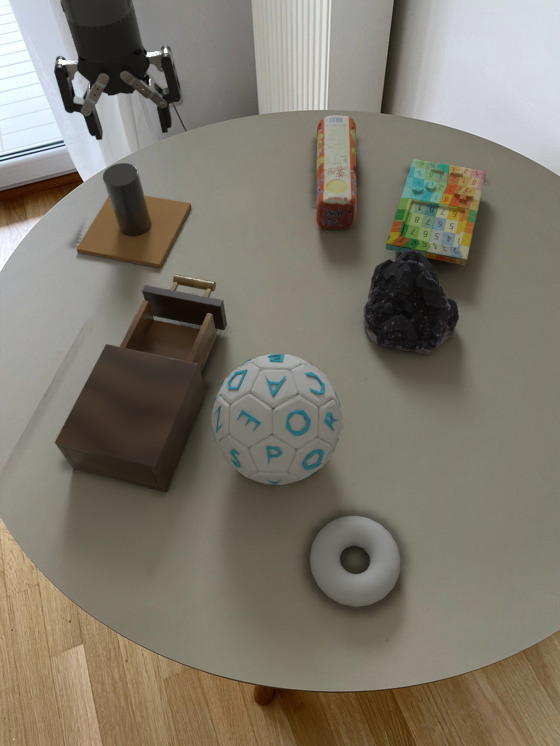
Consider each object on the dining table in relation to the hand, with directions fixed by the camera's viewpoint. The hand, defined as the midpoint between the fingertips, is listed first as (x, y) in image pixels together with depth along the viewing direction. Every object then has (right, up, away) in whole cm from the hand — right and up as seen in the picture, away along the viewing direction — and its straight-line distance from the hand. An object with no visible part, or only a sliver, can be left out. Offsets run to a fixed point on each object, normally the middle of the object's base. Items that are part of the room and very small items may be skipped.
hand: (132, 132), depth 85 cm
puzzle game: (+44, -8, +18) cm, 48 cm away
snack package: (+29, -1, +24) cm, 37 cm away
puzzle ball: (+19, -41, -3) cm, 45 cm away
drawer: (+5, -27, +6) cm, 28 cm away
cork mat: (-4, -8, +20) cm, 22 cm away
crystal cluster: (+37, -24, +8) cm, 45 cm away
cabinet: (+1, -39, -1) cm, 39 cm away
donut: (+28, -53, -11) cm, 61 cm away
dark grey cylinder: (-4, -8, +19) cm, 21 cm away
